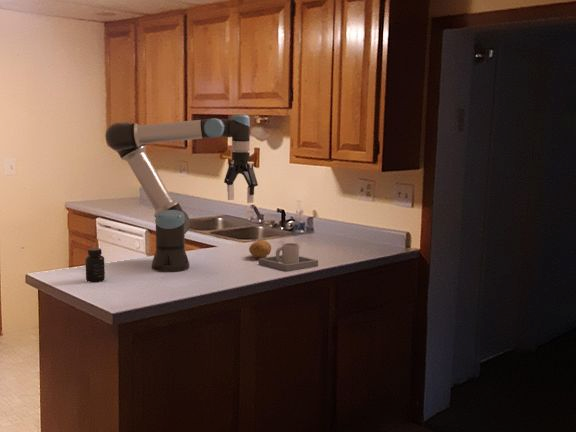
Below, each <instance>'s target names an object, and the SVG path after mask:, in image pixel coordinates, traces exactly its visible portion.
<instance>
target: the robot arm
mask: <svg viewBox="0 0 576 432" xmlns="http://www.w3.org/2000/svg"><path fill="white" fill-rule="evenodd" d="M250 124H251V121H250V116H249V115H247V114H232V116H231V118H230V119H223V118H216V117H212V118H208V119H207V118H206V119H195V120H184V121H172V122H162V123H153V124H152V123H151V124H150V123H149V124H142V125H140V124H139V123H137V122H134V123H133V122H132V123H130V122H114V123H113V124H111V125H110V126H109V127H107V129H106V131H105V141H106V144H107V145H108V146H109V147H110V148H111V149H112V150H114V151H116V152H117V154H118V156H119V157H120V158H121V160H123V161H126V162H127V163H128V165H129V167H130V169H131V171H132V173H133V174H134V176H135V178H136V179H137V181H138V183H139V184H140V187H141V188H142V190H143V192H144V193H145V195H146V197H147V198H148V200H149V202H150V204H151V206H152V208H154V215H153V216H154V219H155V220H154V222H155V252H154V254H153V258H152V262H151V269H152V270H153V271H156V270H157V272H166V273H167V272H169V273H170V272H182V271H186V270H189V268H190V261H189V258H188V255H187V253H186V249H185V248H186V246H185V243H186V241H185V240H186V238H185V235H186V233H188V231H189V230H190V225H191V221H190V217H189V215H188V213H187V212H186V211H184V209H183V207H182V206H181V204H180V203H179V202H178V201H175V200H173V198H172V197H171V194H170V193H169V191H168V189H167V188H166V185H165V184H164V182H163V181H162V179H161V176H160V175H159V174H158V172H157V170H156V168H155V167H154V166H155V165H153V163H152V161H151V159H150V158H149V156H148V155H147V152H146V149H147V144H156V143H157V144H158V143H168V142H179V141H190V140H199V139H201V140H202V139H211V138H212V139H214V138H231V151H232V152H231V162H228V168H227V170H226V174H225V178H224V181H223V182H224V184H226V186H227V187H226V188H227V190H226V191H227V200H228V201H232V200H233V201H234V199H235V186H234V182H235V181H236V178H237V177H238V175H240V174H241V175H242V176H243V178H244V180H245V182H246V183H247V188H246V190H247V192H246V195H247V197H246V200H247V201H246V202H247V204H252V203H254V195H255V187H258V186H259V184H258V180H257V178H256V172H255V170H254V163H248V162H249V161H250V159H251V158H250V154H251V153H250V149H251V148H250V147H251V145H250V142H251V141H250V138H251V137H250V136H251V125H250Z"/></svg>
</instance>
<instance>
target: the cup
mask: <svg viewBox="0 0 576 432" xmlns="http://www.w3.org/2000/svg"><path fill="white" fill-rule="evenodd" d="M281 245H282V246H280V247H278V248H277V249H276V250H275V256H276V259H277V260H278V261H279V263H283V264H293V263H300V262H299V256H300V244H299V243H294V242H292V243H291V242H287V243H286V242H285V243H282V244H281ZM281 252H282V253H281ZM280 253H281V255H282V259H281V258H280V256H279V255H280Z"/></svg>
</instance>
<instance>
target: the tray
mask: <svg viewBox="0 0 576 432" xmlns="http://www.w3.org/2000/svg"><path fill="white" fill-rule="evenodd" d="M279 256H280V258H281V259H282V254H281V255H280V254H279ZM258 265H259V266H264V267H267V268H268V267H269V268H271V269H276V270H281V271H284V272H291V271H296V270H301V269H302V270H303V269H308V268H314V267H318V266H319V259H315V258H310V257H305V256H301V255H299V263H293V264H283V263H282V262H279V261H278V260H277V259H276V255H274V256H268V257H267V256H266V257H265V258H258Z"/></svg>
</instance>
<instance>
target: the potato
mask: <svg viewBox="0 0 576 432" xmlns="http://www.w3.org/2000/svg"><path fill="white" fill-rule="evenodd" d="M248 249H249V251H248V252H249V253H250V255H252V256H253V257H255V258H257V259H260V258H266V257H267V256H269V255H271V254H270V253H271V251H272V245H271V243H269V242H268V241H267V240H265V239H260V240H259V239H258V240H257V241H255V242H253V243H251V244H250V246H249V248H248Z"/></svg>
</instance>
